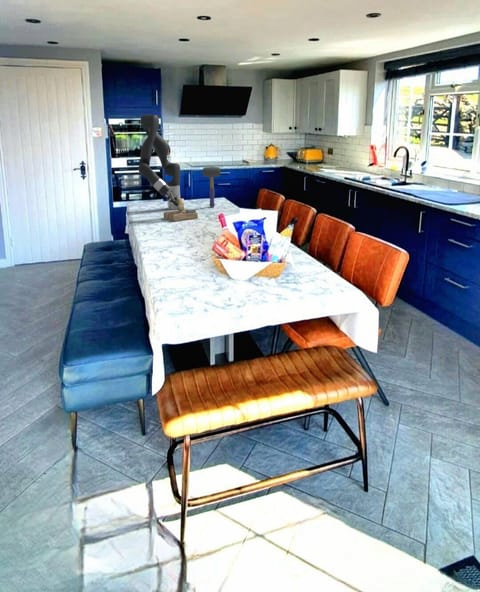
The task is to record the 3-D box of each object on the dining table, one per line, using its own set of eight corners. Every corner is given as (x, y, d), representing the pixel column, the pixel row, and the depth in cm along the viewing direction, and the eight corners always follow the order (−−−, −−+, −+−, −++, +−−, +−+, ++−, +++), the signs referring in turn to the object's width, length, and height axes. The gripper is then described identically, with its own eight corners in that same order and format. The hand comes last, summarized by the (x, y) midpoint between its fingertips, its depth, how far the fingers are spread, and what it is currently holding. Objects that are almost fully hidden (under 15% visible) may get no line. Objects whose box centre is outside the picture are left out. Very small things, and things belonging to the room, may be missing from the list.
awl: (175, 216, 348) (175, 198, 344) (181, 215, 351) (181, 198, 347) (179, 217, 345) (178, 199, 340) (185, 216, 348) (185, 199, 343)
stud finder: (185, 212, 346) (185, 209, 345) (193, 211, 350) (193, 208, 349) (188, 213, 344) (188, 210, 343) (195, 212, 347) (195, 209, 346)
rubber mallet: (219, 206, 391) (219, 166, 380) (221, 207, 384) (220, 167, 373) (203, 206, 389) (202, 166, 378) (204, 208, 382) (203, 167, 371)
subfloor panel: (163, 217, 349) (163, 212, 347) (186, 214, 359) (186, 209, 358) (174, 221, 338) (174, 215, 336) (197, 218, 348) (197, 212, 346)
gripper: (162, 184, 334) (180, 202, 337) (167, 181, 348) (184, 198, 351) (155, 192, 337) (173, 210, 340) (160, 189, 350) (177, 206, 353)
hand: (179, 204), depth 345 cm, fingers open, 8 cm apart
